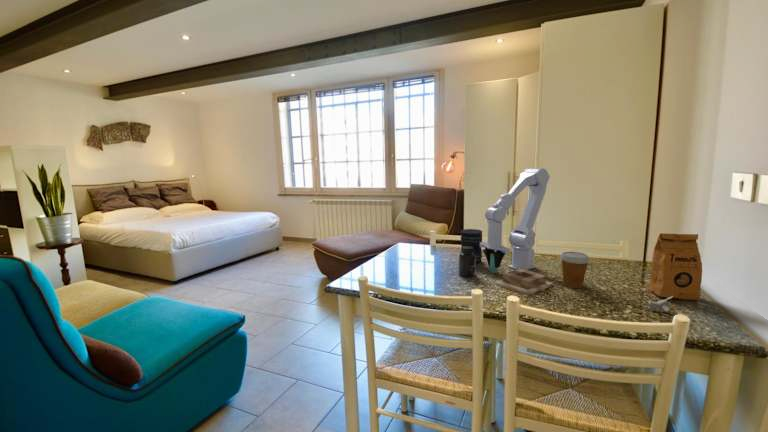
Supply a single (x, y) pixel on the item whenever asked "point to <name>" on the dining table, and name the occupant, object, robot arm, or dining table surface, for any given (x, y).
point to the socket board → (521, 290)
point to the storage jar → (472, 242)
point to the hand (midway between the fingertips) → (493, 266)
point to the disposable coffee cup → (574, 268)
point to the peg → (492, 264)
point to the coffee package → (676, 267)
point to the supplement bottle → (467, 262)
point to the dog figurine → (660, 304)
